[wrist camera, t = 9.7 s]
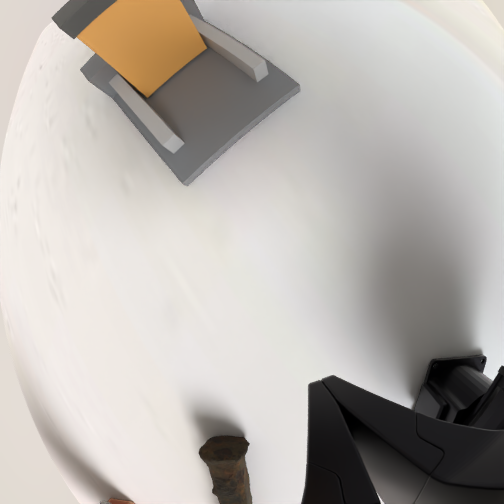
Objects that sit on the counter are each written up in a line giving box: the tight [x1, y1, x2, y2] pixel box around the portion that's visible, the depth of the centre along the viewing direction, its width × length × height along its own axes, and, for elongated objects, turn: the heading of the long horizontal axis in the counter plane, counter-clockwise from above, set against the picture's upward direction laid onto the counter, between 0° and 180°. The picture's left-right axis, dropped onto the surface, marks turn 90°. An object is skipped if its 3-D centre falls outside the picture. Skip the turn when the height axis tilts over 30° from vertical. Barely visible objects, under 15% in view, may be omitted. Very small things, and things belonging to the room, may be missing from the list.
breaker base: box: [80, 0, 300, 186], centre depth 19 cm, size 16×12×5 cm
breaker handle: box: [52, 0, 207, 98], centre depth 15 cm, size 3×7×12 cm, turn 131°
